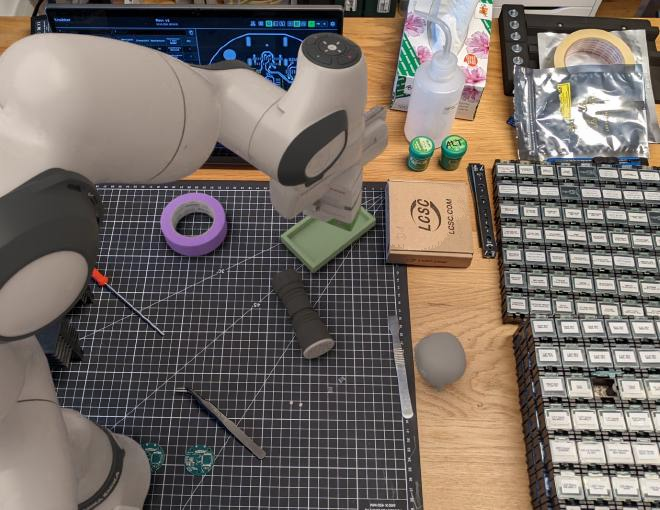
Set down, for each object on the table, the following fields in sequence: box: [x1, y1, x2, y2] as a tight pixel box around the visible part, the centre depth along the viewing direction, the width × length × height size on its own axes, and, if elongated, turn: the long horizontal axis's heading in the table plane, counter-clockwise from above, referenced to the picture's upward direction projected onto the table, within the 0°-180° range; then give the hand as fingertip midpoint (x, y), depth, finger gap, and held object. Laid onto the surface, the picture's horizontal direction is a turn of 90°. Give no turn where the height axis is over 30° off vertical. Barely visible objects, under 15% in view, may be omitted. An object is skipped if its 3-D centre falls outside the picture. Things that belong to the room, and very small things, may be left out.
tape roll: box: [159, 192, 228, 257], centre depth 114 cm, size 12×12×4 cm
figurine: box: [413, 331, 467, 394], centre depth 97 cm, size 8×8×12 cm
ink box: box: [302, 165, 364, 232], centre depth 95 cm, size 9×5×12 cm, turn 66°
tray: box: [280, 205, 377, 274], centre depth 115 cm, size 16×9×2 cm, turn 132°
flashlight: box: [271, 268, 335, 360], centre depth 105 cm, size 15×5×5 cm, turn 25°
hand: (331, 195), depth 96 cm, fingers closed on ink box, 6 cm apart
